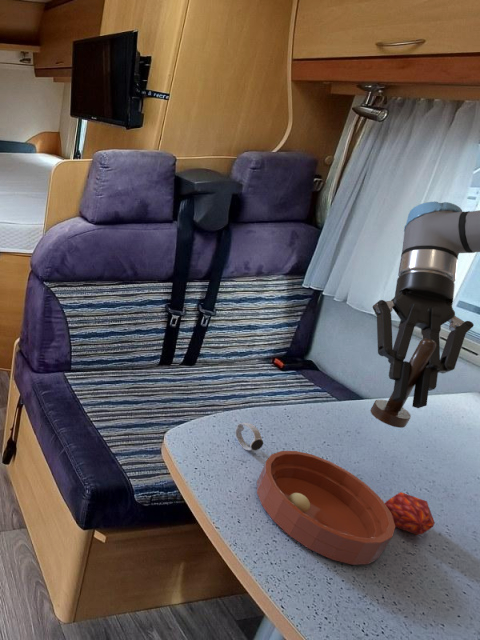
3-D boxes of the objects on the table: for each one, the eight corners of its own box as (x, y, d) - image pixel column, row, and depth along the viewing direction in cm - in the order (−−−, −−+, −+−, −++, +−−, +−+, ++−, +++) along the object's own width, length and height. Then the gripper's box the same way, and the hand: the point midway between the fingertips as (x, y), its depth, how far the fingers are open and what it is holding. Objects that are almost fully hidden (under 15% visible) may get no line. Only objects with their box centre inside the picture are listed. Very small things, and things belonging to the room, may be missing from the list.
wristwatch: (247, 456, 90) (255, 436, 88) (229, 437, 95) (236, 418, 93) (259, 454, 91) (268, 435, 89) (241, 436, 95) (249, 417, 93)
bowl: (369, 504, 82) (382, 481, 80) (390, 590, 68) (407, 566, 66) (256, 458, 90) (265, 436, 88) (254, 526, 76) (265, 502, 74)
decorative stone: (412, 531, 80) (436, 554, 73) (367, 507, 83) (386, 527, 75) (430, 500, 79) (456, 520, 72) (384, 476, 82) (405, 493, 75)
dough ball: (297, 508, 80) (315, 505, 78) (294, 517, 78) (312, 515, 76) (286, 491, 81) (304, 488, 79) (282, 500, 79) (300, 497, 77)
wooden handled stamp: (402, 415, 84) (445, 337, 77) (409, 432, 80) (455, 351, 73) (367, 404, 86) (407, 328, 80) (373, 419, 82) (415, 340, 76)
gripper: (468, 299, 84) (455, 424, 77) (365, 276, 91) (345, 389, 84) (495, 283, 78) (484, 418, 71) (383, 260, 84) (362, 380, 77)
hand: (409, 402), depth 77 cm, fingers closed on wooden handled stamp, 2 cm apart
